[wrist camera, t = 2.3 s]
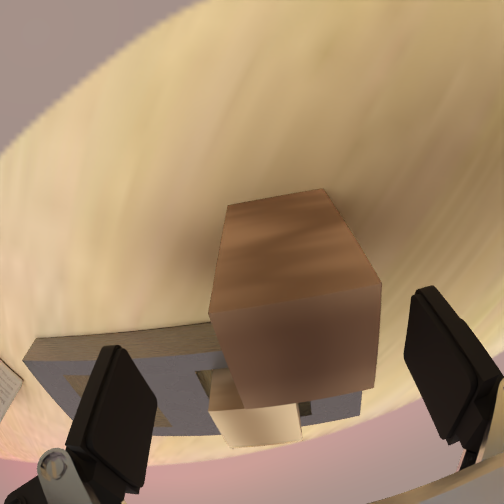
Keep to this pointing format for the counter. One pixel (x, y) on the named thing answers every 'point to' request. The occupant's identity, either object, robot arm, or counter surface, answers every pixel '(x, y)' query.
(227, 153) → the counter surface
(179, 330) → the grey flat frame
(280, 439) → the seated oak block
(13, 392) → the skincare box
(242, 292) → the walnut block
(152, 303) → the counter surface
